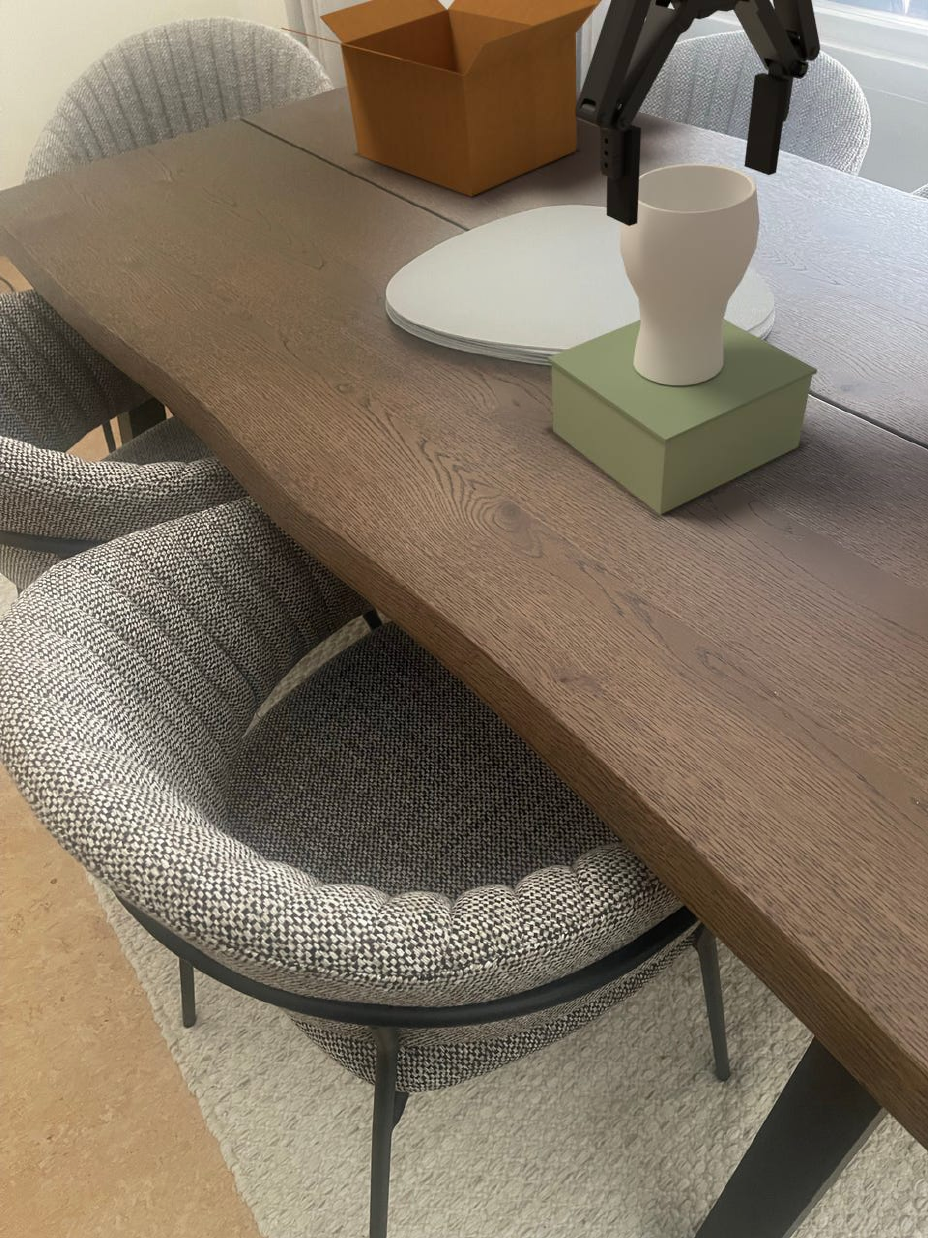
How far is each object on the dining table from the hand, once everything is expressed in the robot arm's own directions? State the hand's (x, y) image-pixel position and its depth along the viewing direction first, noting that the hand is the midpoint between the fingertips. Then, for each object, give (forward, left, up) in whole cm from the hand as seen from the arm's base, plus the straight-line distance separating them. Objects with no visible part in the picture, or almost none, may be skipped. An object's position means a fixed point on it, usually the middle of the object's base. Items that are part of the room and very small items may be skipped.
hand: (692, 194), depth 71 cm
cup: (0, 0, -15) cm, 15 cm away
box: (+78, -24, -23) cm, 85 cm away
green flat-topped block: (0, 0, -23) cm, 23 cm away
